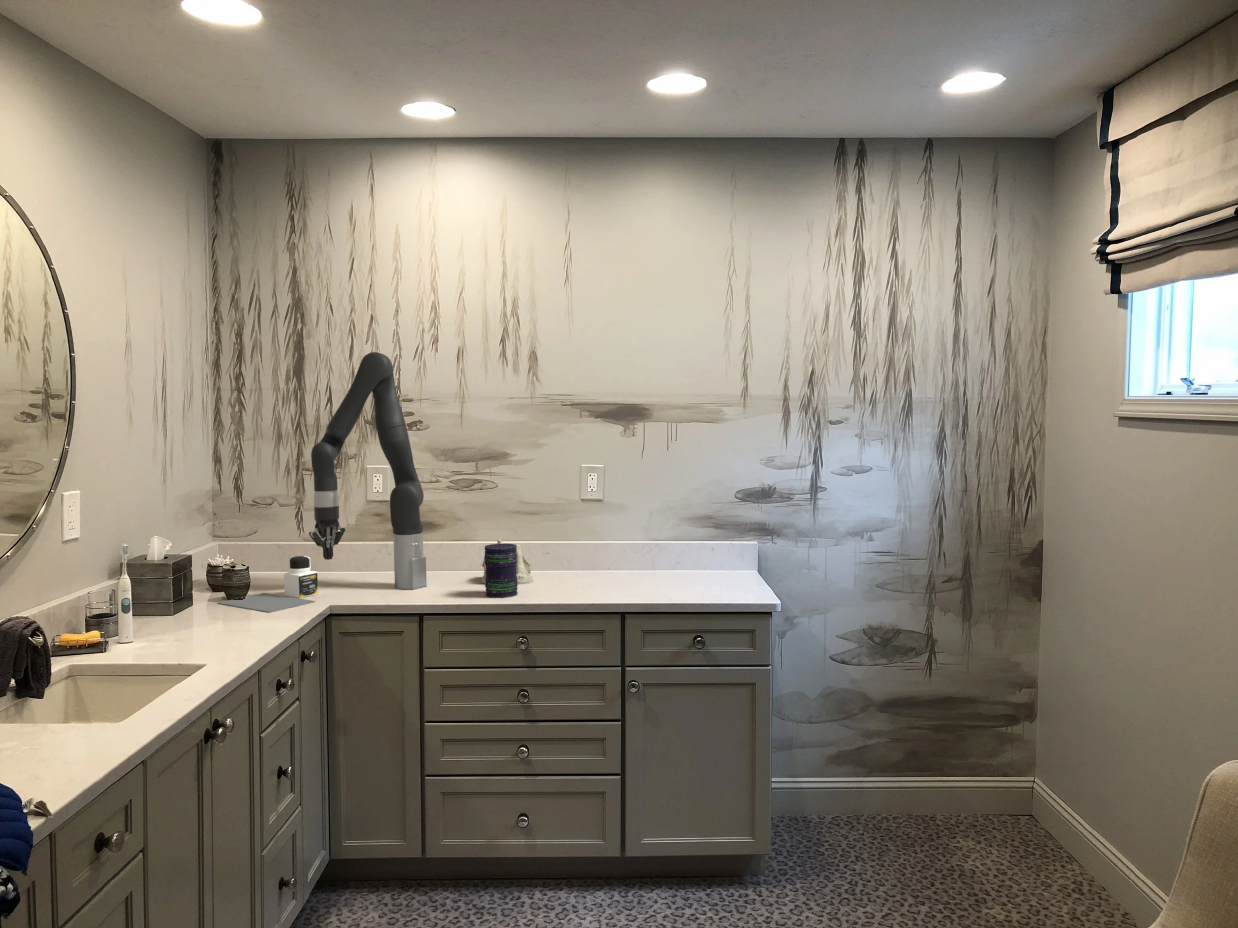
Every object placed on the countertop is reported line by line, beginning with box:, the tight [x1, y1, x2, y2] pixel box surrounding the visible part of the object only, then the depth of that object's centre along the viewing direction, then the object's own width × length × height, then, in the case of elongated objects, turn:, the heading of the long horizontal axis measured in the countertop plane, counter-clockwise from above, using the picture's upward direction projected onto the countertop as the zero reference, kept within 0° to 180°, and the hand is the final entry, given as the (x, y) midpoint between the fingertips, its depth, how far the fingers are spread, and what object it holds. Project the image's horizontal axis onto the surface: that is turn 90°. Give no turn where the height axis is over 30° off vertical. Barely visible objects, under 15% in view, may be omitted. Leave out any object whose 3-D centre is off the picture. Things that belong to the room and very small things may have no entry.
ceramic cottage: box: [481, 539, 534, 586], centre depth 309 cm, size 16×16×15 cm
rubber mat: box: [217, 592, 316, 614], centre depth 281 cm, size 24×16×1 cm, turn 57°
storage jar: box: [483, 543, 519, 599], centre depth 287 cm, size 10×10×15 cm
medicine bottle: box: [283, 555, 319, 599], centre depth 291 cm, size 7×7×12 cm
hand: (328, 559), depth 299 cm, fingers closed
